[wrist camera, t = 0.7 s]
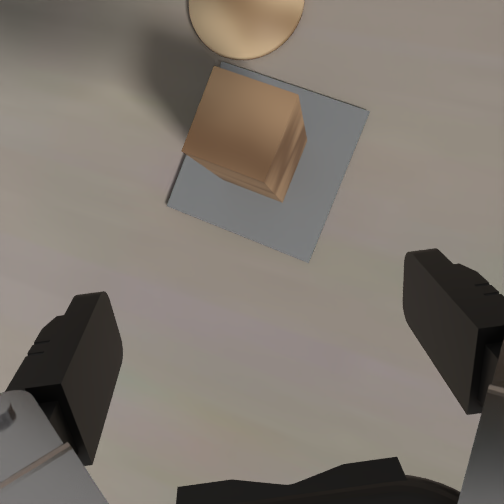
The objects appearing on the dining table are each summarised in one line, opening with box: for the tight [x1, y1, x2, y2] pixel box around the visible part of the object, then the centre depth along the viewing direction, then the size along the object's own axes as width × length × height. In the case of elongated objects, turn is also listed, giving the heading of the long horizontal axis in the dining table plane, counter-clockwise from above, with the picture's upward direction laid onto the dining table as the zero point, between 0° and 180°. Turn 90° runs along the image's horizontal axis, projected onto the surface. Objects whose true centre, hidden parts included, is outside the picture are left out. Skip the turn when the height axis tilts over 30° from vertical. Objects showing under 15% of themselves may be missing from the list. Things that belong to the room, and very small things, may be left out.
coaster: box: [189, 0, 304, 60], centre depth 35 cm, size 9×9×1 cm
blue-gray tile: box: [167, 62, 370, 263], centre depth 35 cm, size 12×12×1 cm
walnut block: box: [182, 66, 307, 203], centre depth 30 cm, size 5×5×10 cm
